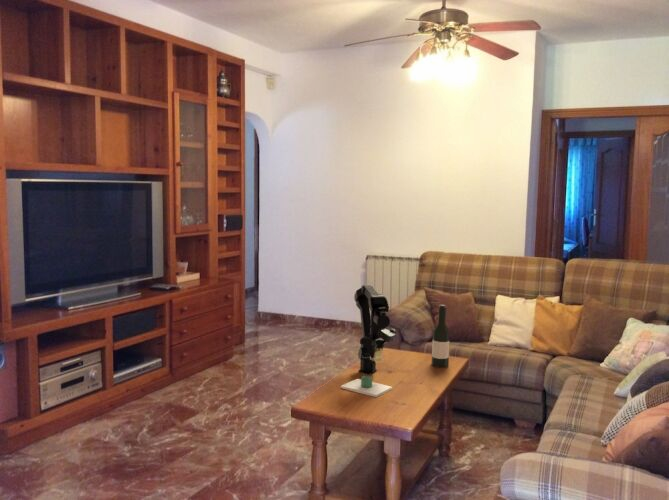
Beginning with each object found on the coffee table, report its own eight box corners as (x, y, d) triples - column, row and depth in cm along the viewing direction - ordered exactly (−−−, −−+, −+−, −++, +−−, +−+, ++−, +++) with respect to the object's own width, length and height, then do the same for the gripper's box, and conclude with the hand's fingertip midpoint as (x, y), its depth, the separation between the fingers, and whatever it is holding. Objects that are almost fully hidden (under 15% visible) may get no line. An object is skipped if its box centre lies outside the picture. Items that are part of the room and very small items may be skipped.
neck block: (340, 388, 267) (341, 376, 267) (357, 380, 278) (357, 369, 277) (376, 397, 257) (376, 385, 256) (392, 389, 267) (392, 378, 267)
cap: (367, 359, 277) (367, 348, 276) (374, 356, 281) (374, 346, 281) (377, 361, 274) (378, 350, 273) (384, 358, 278) (384, 348, 277)
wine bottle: (449, 363, 307) (452, 304, 304) (447, 368, 300) (449, 307, 296) (433, 361, 310) (435, 302, 307) (430, 366, 302) (432, 305, 299)
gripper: (381, 329, 263) (380, 365, 265) (403, 322, 278) (401, 355, 280) (359, 325, 270) (358, 360, 271) (381, 318, 285) (380, 351, 287)
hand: (375, 356), depth 277 cm, fingers closed on cap, 5 cm apart
